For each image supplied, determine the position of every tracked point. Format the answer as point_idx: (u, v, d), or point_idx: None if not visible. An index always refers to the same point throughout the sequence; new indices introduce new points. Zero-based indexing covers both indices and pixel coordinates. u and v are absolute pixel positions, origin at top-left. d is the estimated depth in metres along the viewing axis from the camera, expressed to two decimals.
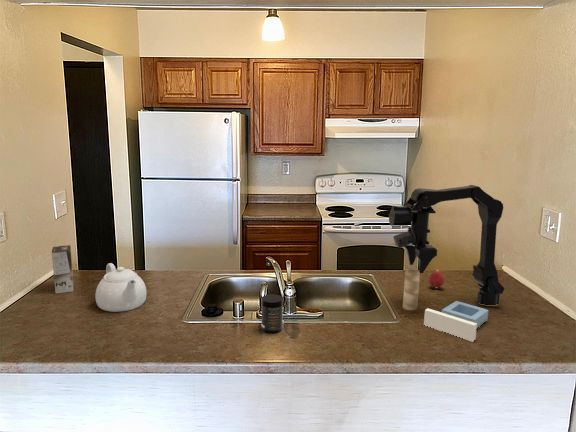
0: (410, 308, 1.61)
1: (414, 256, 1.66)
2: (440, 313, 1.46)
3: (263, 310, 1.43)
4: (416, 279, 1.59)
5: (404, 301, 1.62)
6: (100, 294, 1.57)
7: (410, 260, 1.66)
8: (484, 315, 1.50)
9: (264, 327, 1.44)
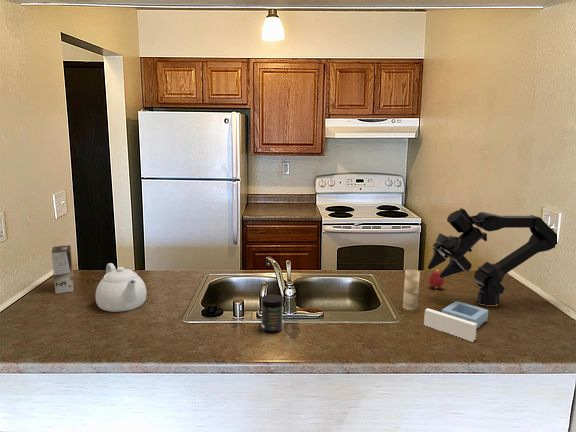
0: (410, 308, 1.61)
1: (436, 264, 1.67)
2: (440, 313, 1.46)
3: (263, 310, 1.43)
4: (416, 279, 1.59)
5: (404, 301, 1.62)
6: (100, 294, 1.57)
7: (431, 264, 1.66)
8: (484, 315, 1.50)
9: (264, 327, 1.44)
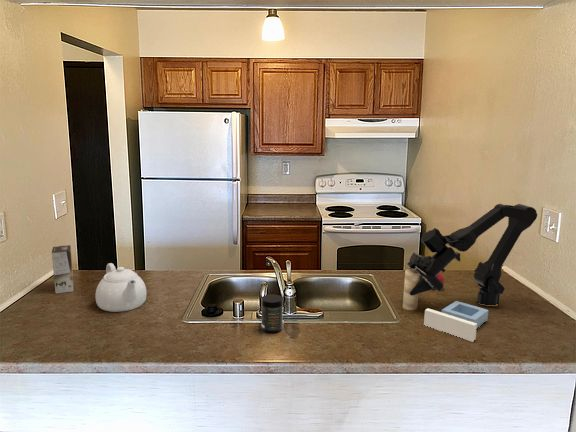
0: (410, 308, 1.61)
1: None
2: (440, 313, 1.46)
3: (263, 310, 1.43)
4: (416, 279, 1.59)
5: (404, 301, 1.62)
6: (100, 294, 1.57)
7: None
8: (484, 315, 1.50)
9: (264, 327, 1.44)
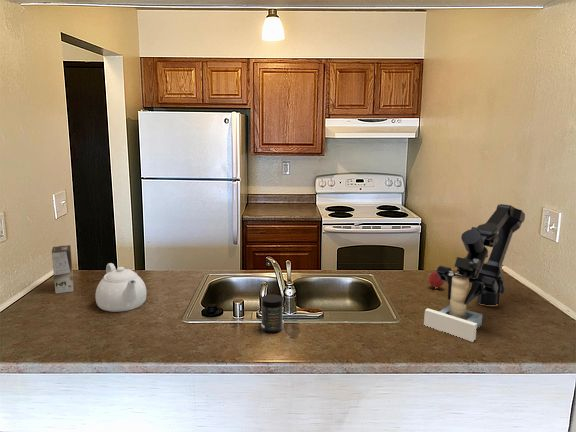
0: (463, 318, 1.46)
1: None
2: (440, 313, 1.46)
3: (263, 310, 1.43)
4: (468, 286, 1.44)
5: (456, 313, 1.45)
6: (100, 293, 1.57)
7: (450, 294, 1.48)
8: (478, 320, 1.47)
9: (264, 327, 1.44)
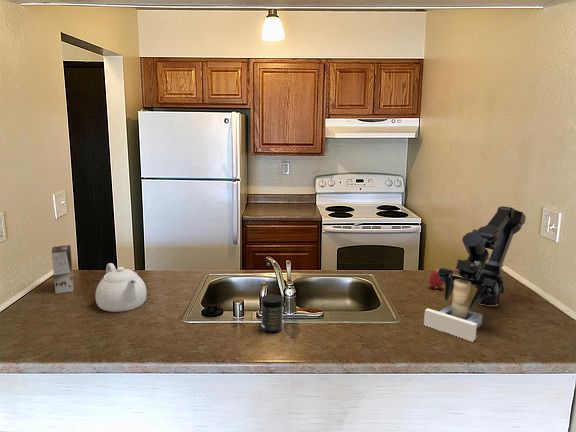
0: None
1: (450, 293, 1.51)
2: (440, 313, 1.46)
3: (263, 310, 1.43)
4: None
5: (457, 315, 1.47)
6: (100, 294, 1.57)
7: (447, 295, 1.50)
8: (478, 320, 1.47)
9: (264, 327, 1.44)
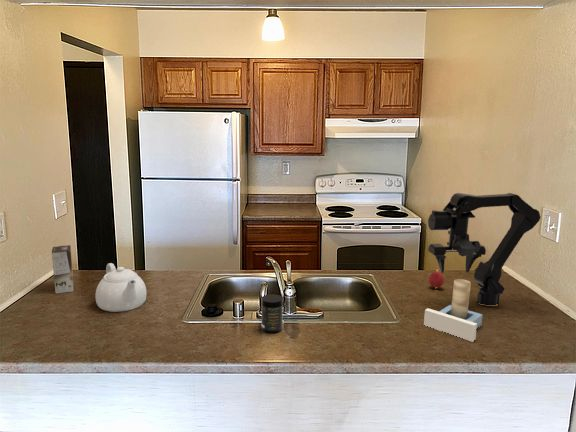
0: None
1: None
2: (440, 313, 1.46)
3: (263, 310, 1.43)
4: (469, 289, 1.46)
5: (457, 316, 1.47)
6: (100, 293, 1.57)
7: None
8: (478, 320, 1.47)
9: (264, 327, 1.44)
